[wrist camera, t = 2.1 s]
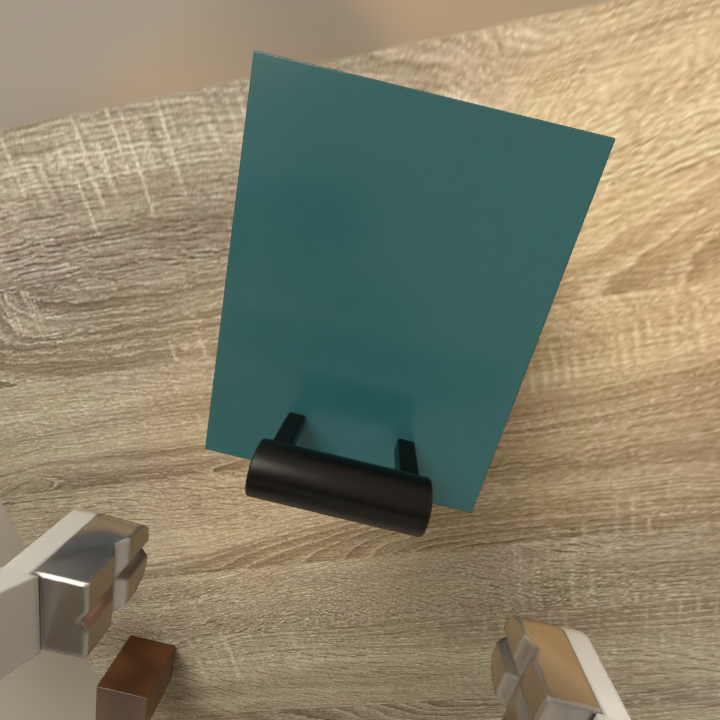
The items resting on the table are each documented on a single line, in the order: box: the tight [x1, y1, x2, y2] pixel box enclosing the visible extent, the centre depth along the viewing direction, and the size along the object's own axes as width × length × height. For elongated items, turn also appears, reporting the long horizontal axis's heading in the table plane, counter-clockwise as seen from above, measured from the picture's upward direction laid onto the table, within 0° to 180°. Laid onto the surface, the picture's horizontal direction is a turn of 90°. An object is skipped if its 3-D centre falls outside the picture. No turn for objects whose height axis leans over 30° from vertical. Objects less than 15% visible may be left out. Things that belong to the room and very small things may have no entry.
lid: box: [205, 51, 615, 537], centre depth 12 cm, size 14×12×5 cm
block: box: [96, 636, 175, 720], centre depth 34 cm, size 4×4×4 cm
